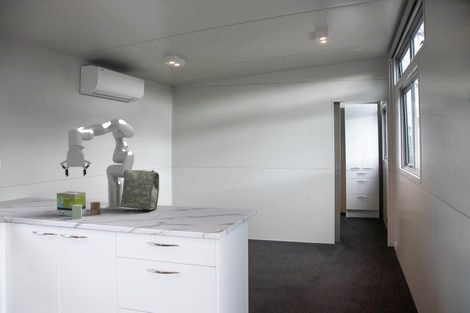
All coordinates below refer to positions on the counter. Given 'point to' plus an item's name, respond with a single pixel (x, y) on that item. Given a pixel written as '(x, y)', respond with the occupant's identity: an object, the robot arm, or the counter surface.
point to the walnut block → (95, 208)
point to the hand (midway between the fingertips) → (75, 176)
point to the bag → (140, 189)
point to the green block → (77, 211)
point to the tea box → (70, 202)
